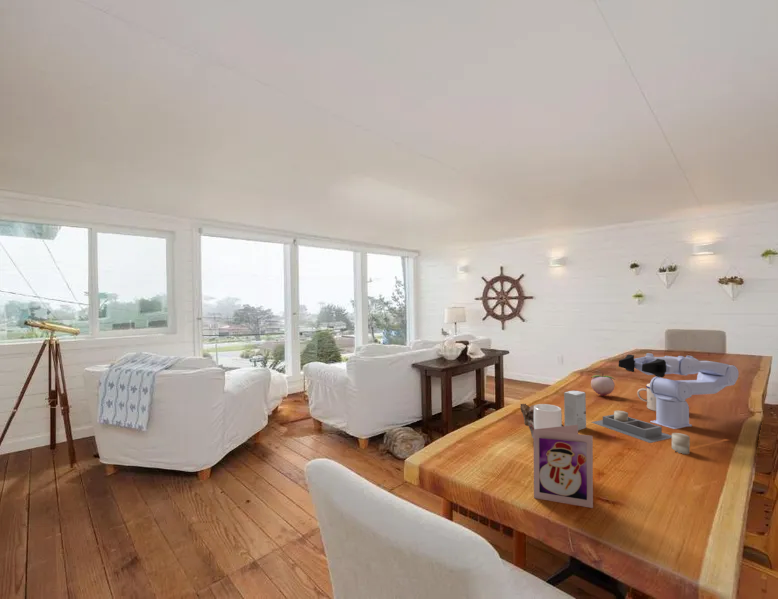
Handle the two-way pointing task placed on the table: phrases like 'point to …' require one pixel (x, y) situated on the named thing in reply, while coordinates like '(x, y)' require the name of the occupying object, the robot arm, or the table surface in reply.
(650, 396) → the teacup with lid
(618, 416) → the beige round piece
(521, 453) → the table surface
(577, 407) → the skincare box
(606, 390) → the decorative fruit
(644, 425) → the gray compartment tray
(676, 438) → the cream cylinder
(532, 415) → the seed pod
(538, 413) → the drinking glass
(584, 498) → the greeting card
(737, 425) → the table surface
